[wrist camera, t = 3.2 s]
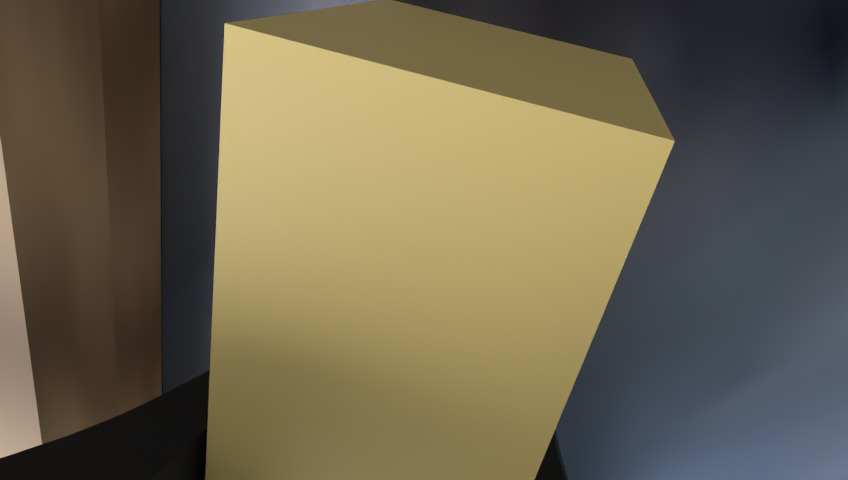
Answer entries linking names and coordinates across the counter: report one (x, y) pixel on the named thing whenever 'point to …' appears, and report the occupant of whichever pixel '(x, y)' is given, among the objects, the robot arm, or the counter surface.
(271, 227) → the pale yellow bar
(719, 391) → the counter surface
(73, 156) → the slot board
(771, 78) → the counter surface
